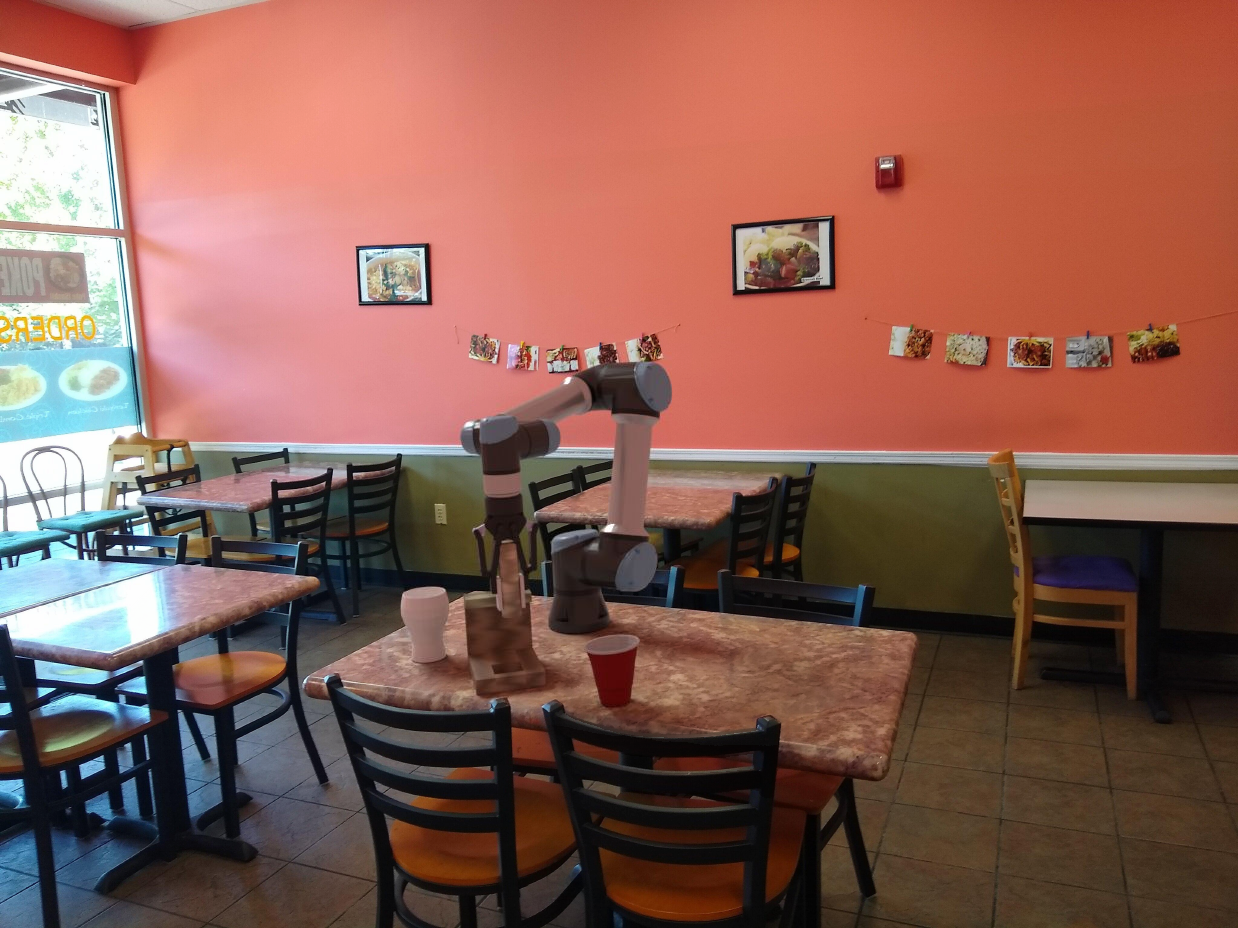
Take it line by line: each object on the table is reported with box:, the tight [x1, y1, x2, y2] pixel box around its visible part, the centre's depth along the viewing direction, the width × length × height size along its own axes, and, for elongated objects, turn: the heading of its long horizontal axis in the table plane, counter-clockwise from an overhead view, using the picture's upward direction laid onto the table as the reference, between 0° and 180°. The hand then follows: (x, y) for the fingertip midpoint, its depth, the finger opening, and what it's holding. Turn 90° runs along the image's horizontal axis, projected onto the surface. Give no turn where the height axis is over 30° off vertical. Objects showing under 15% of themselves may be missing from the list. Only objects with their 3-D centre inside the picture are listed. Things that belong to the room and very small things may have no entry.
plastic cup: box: [582, 634, 640, 708], centre depth 176 cm, size 11×11×12 cm
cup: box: [400, 586, 450, 664], centre depth 206 cm, size 11×11×15 cm
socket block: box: [463, 589, 547, 696], centre depth 193 cm, size 14×18×16 cm
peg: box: [498, 540, 522, 618], centre depth 186 cm, size 4×4×15 cm
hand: (511, 607), depth 187 cm, fingers closed on peg, 4 cm apart
